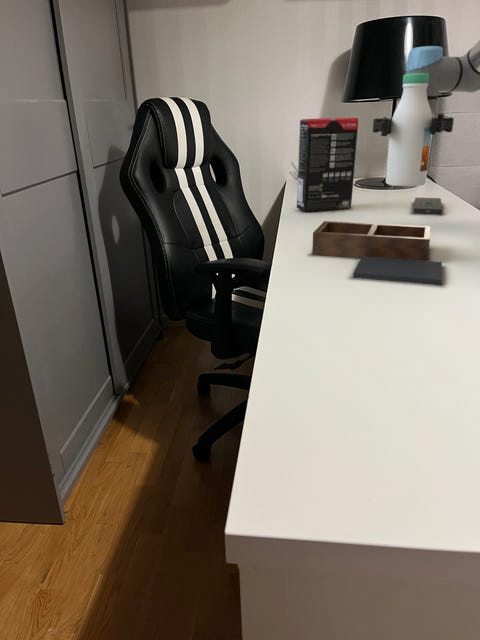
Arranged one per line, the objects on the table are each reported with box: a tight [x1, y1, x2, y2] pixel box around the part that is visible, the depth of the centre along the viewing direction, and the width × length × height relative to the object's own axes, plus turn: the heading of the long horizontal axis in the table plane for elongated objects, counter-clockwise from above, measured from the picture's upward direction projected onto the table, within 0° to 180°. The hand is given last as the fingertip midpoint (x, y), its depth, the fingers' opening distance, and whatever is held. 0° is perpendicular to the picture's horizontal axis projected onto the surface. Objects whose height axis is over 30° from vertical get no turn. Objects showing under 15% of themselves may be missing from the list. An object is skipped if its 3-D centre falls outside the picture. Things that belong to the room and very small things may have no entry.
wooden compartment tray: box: [311, 220, 432, 261], centre depth 113 cm, size 24×12×5 cm, turn 70°
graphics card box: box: [296, 117, 359, 212], centre depth 155 cm, size 17×7×27 cm, turn 109°
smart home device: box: [412, 197, 443, 215], centre depth 158 cm, size 8×2×20 cm
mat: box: [352, 256, 443, 286], centre depth 99 cm, size 16×12×1 cm
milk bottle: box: [385, 73, 432, 187], centre depth 96 cm, size 8×8×20 cm
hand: (409, 126), depth 92 cm, fingers closed on milk bottle, 8 cm apart
